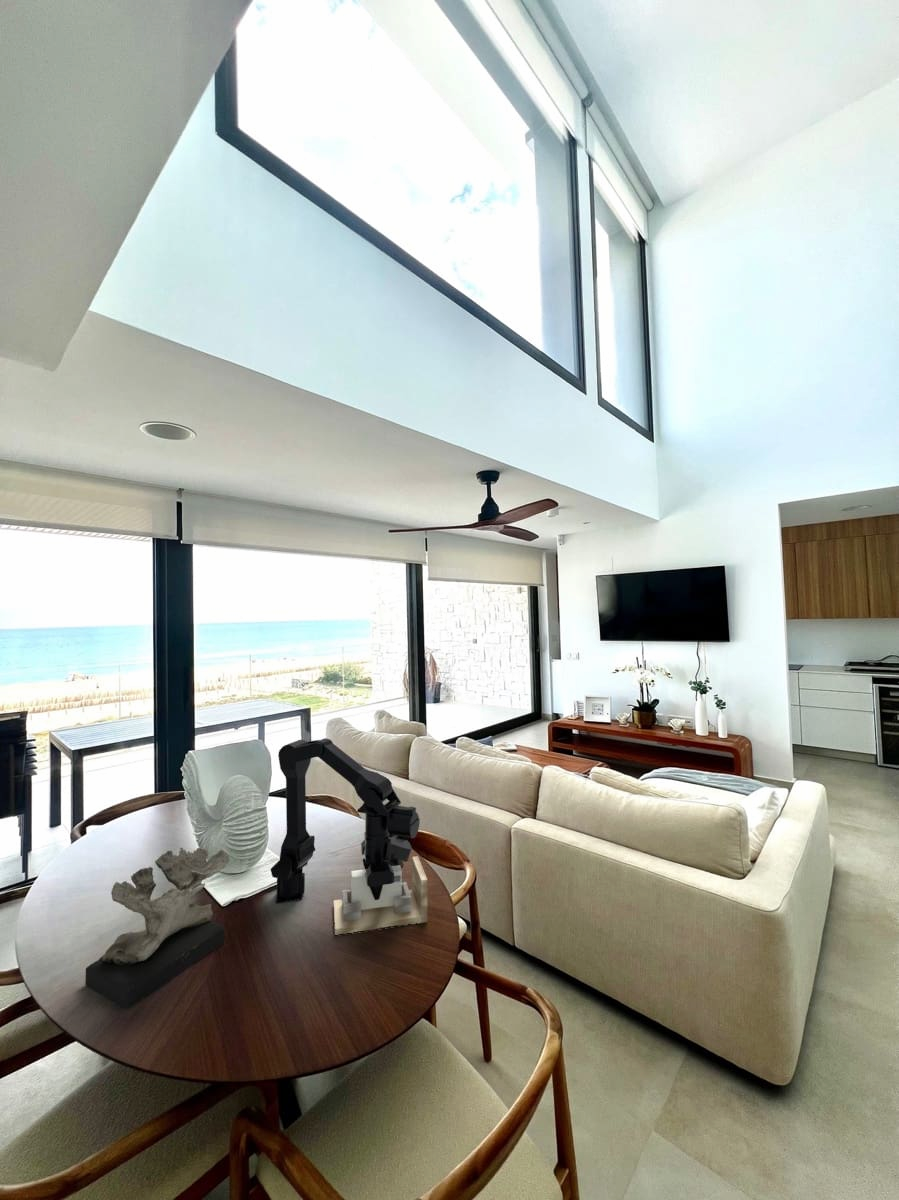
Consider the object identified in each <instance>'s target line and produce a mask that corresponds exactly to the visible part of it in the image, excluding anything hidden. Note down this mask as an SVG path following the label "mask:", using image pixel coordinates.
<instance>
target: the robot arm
mask: <svg viewBox="0 0 899 1200" xmlns="http://www.w3.org/2000/svg"><path fill="white" fill-rule="evenodd" d="M277 756H278V763H279V769H280V771H281V773H282V774H283V775H284V777H285V797H286V798H285V800H286V801H285V803H286V804H285V807H286V808H285V810H286V811H285V813H286V816H285V817H286V832H285V837H284V839H283V841H282V843H281V847H280V854H279V860H277V862H275V864H274V865H273V866H272V867H271V868H270V872H271V876H272V878H275V879H276V895H275V896H276V897H275V903H277V904H279V903H280V904H281V903H284V902H285V903H286V902H294V901H301V900H303V895H304V894H305V887H306V886H305V885H306V883H305V881H306V872H304V871H303V868H304V867H305V866H307V865H308V863H309V861H310V860H311V859H312V858H313V856H314V852H315V851H316V848H315V840H316V838H315V835H310V833H309V832H308V830H307V812H306V811H307V808H306V807H307V801H306V800H307V799H306V797H307V796H306V794H307V793H306V790H307V789H306V788H307V786H306V775H307V773H308V769H309V767H310V765H311V760H312V759H314V758H318V759H320V760H321V761H322V762H323V763H325V764H327V766H328V767H330V768H331V769H333V771H335V772H336V773H337V774H338V775H340V776H341V777H342V778H343V779H345V780H346V781H347V782H348V783H349V784H351V785H352V787H353V788H354V790H355V792H356V795H357V797H358V798H359V799H360V800H361V801H362V802H363V804H362V805H361V806H360V807H359V808H357V810H356V812H357V813H360V814H365V818H364V819H365V821H364V822H365V824H364V825H365V827H364V828H365V831H364V832H363V833H364V834H363V835H364V839H363V840H362V842H361V843H360V853H361V856H364V858H363V859H362V863H363V868H364V869H367V870H366V873H365V876H366V882H367V886H369V887H370V889H371V892H372V894H373V897H374V899H375V900H379V898H380V894H381V891H382V887H383V885H386V884H392V883H394V872H393V868H392V866H390V865H389V864H387V861H391V857H393V858H396V859H400V860H402V861H403V863H405V862H407V863H408V861H409V858H410V856H411V852H412V849H413V848H412V845H411V843H410V842H409V841H408V839H405V838H410V839H415V838H416V837H417V835H418V832H419V828H420V823H421V822H420V820H421V819H420V817H419V814H418V812H417V807H415V806H405V805H403V806H402V805H401V803H402V802H401V800H400V798H399V797H398V795H397V793H396V792H395V790H394V789H393V784H392V782H391V780H390V779H389V778H388V777H387V776H385V775H382V774H381V773H378V772H376V771H374V770H370V769H367V768H365V767H363V766H362V765H361V764H360V763H358V762H357V761H356V760H355V759H353V758H352V757H351V756H350V755H348V754H347V753H346V752H344V751H343V750H342V749H340V748H339V747H338V746H337V745H335V744H334V743H333V741H332V740H331V739H330V738H328V737H327V738H326V737H325V738H322V739H315V740H311V741H310V740H309V741H307V740H305V739H297V740H295V741H293V742H289V743H287V744H285V745H283V746H282V747H281V748H280V749H279V750H278V755H277ZM386 801H388V802H386ZM384 802H386V803H385V804H384ZM389 833H390V834H391V835H395V836H393V837H389Z"/></svg>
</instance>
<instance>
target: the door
mask: <svg viewBox="0 0 899 1200" xmlns="http://www.w3.org/2000/svg"><path fill="white" fill-rule="evenodd" d="M392 868H393V872H394V883H392V884H386V885H383V887H382V891H381V894H380V898H379V900H375V899H374V897H373V894H372V892H371V889H370V887H369V886H367V882H366V876H365V873H366V870H367V869H365V868H364V869H359V870H358V869H357V870H351V872H350V873H351V882H350V885H351V886H350V889H351V903H354V902H361V910H364V909H372V908H379V907H386V906H393V905H394V897H398V896H402V883H403V882H402V881H403V870H402V867H400V865H398V866H392Z"/></svg>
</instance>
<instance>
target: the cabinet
mask: <svg viewBox="0 0 899 1200" xmlns="http://www.w3.org/2000/svg"><path fill="white" fill-rule="evenodd" d="M411 861H412V865H411V866H412V867H411V873H412V874H411V889H409V886H408V883H407V881H405V882H402V896H398V897H394V905H393V906H386V907H379V908H372V909H364V910H361V902H354V903H351V888H350V889H344V890H342V892H341V893H342V894H341V895H342V899H335V900H333V918H334V920H333V921H334V923H335V924H334V936H335V935H338V934H345V935H347V934H346V933H352V934H354V933H353V932H357V931H364V930H371V929H376V928H380V927H382V928H383V927H388V926H394V925H404V926H409V925H408V924H411V925H417V924H423V923H428V878H427V874H426V872H425V871H424V867H423V865H422V863H421V861H420V856H417V855H416V856H412V859H411ZM416 923H417V924H416ZM371 931H372V930H371ZM338 936H339V935H338Z"/></svg>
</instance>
